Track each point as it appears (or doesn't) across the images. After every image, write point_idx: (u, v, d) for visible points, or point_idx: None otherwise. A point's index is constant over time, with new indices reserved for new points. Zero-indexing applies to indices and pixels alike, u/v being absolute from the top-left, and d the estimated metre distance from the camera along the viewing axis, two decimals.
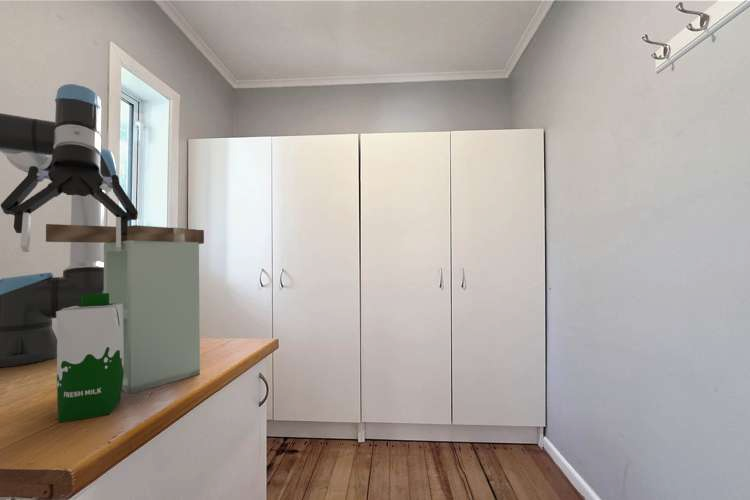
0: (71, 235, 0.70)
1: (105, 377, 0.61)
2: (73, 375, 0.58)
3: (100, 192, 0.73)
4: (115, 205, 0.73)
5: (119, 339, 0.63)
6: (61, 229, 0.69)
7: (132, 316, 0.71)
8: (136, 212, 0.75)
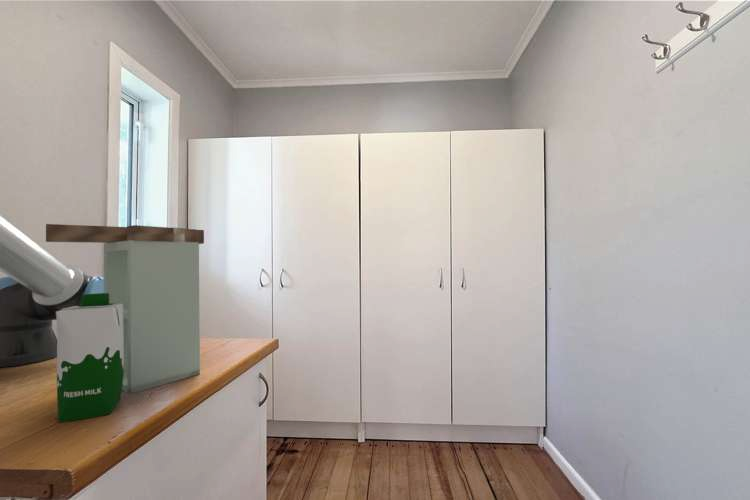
0: (71, 235, 0.70)
1: (105, 377, 0.61)
2: (73, 375, 0.58)
3: None
4: None
5: (119, 339, 0.63)
6: (61, 229, 0.69)
7: (132, 316, 0.71)
8: None
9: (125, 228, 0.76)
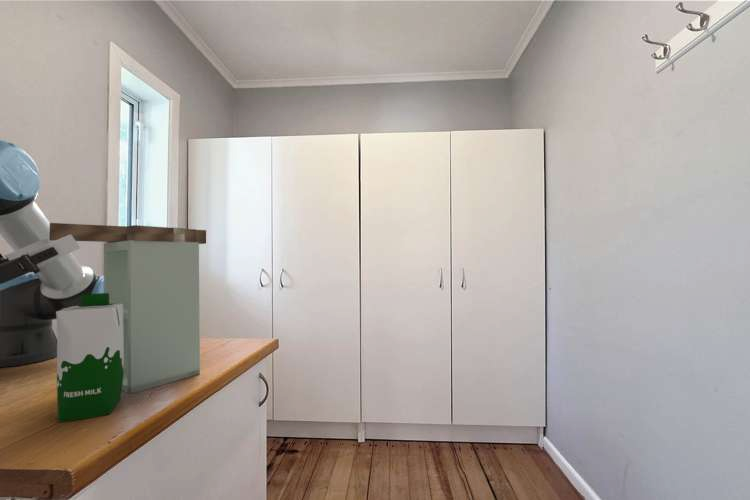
0: (74, 234, 0.71)
1: (105, 377, 0.61)
2: (73, 375, 0.58)
3: None
4: None
5: (119, 339, 0.63)
6: (65, 228, 0.70)
7: (132, 316, 0.71)
8: (33, 271, 0.56)
9: None
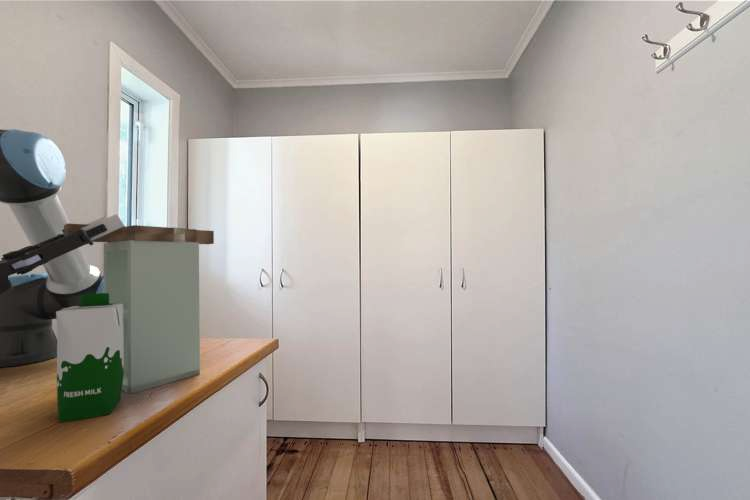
0: None
1: (105, 377, 0.61)
2: (73, 375, 0.58)
3: None
4: None
5: (119, 339, 0.63)
6: None
7: (132, 316, 0.71)
8: (89, 242, 0.66)
9: None
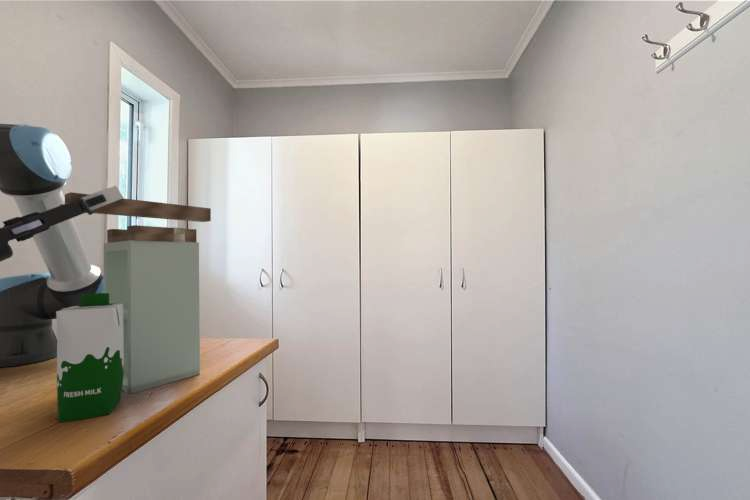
0: None
1: (105, 377, 0.61)
2: (73, 375, 0.58)
3: None
4: None
5: (119, 339, 0.63)
6: None
7: (132, 316, 0.71)
8: (89, 211, 0.67)
9: (143, 202, 0.78)
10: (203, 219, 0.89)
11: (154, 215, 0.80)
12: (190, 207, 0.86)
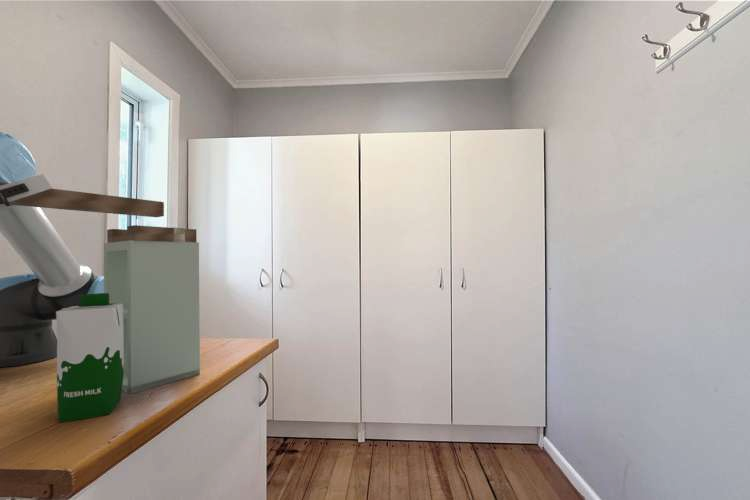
0: None
1: (105, 377, 0.61)
2: (73, 375, 0.58)
3: None
4: None
5: (119, 339, 0.63)
6: None
7: (132, 316, 0.71)
8: (3, 202, 0.58)
9: (78, 193, 0.69)
10: (154, 214, 0.80)
11: (93, 208, 0.70)
12: (138, 200, 0.77)
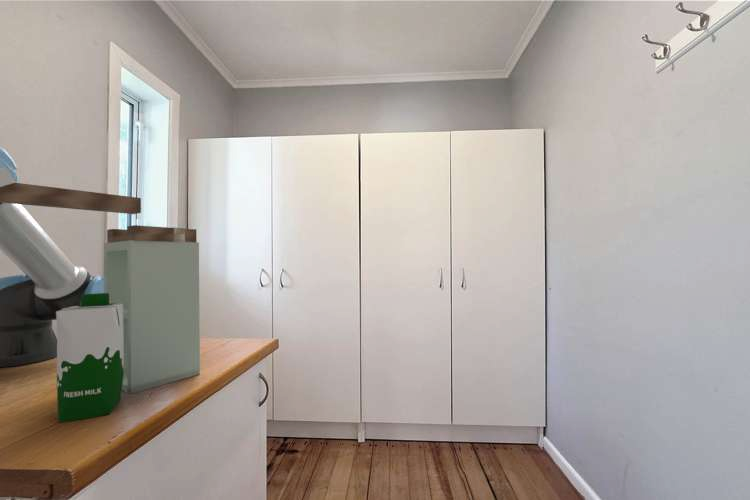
0: None
1: (105, 377, 0.61)
2: (73, 375, 0.58)
3: None
4: None
5: (119, 339, 0.63)
6: None
7: (132, 316, 0.71)
8: None
9: (45, 188, 0.65)
10: (131, 210, 0.76)
11: (62, 204, 0.67)
12: (113, 196, 0.73)
